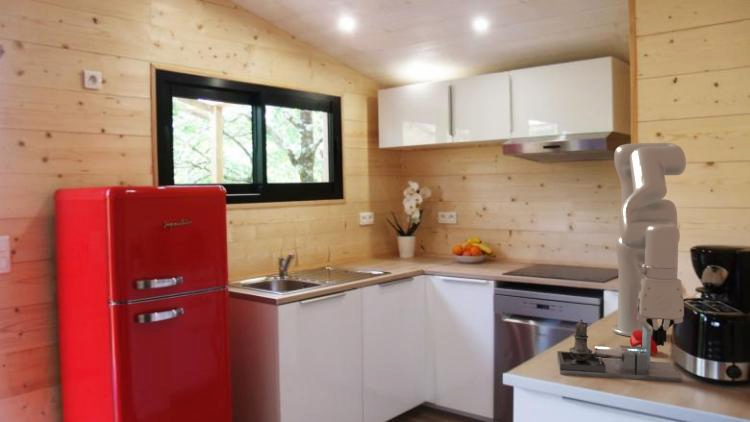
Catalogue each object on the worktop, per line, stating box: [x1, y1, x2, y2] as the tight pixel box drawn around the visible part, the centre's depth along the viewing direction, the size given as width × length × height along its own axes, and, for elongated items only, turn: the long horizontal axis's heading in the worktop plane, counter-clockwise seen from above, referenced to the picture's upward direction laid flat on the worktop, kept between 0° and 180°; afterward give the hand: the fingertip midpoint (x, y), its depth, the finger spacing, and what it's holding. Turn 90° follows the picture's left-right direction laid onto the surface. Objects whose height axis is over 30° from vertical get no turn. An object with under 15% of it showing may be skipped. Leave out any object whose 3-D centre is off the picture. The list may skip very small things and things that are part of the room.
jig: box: [556, 345, 683, 383], centre depth 156 cm, size 12×28×6 cm, turn 77°
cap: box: [629, 330, 659, 356], centre depth 171 cm, size 8×6×6 cm
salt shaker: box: [568, 318, 594, 364], centre depth 158 cm, size 6×6×12 cm
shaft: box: [593, 326, 651, 370], centre depth 156 cm, size 5×13×10 cm, turn 77°
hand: (659, 344), depth 154 cm, fingers closed
